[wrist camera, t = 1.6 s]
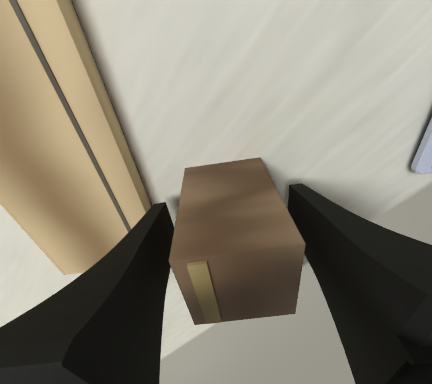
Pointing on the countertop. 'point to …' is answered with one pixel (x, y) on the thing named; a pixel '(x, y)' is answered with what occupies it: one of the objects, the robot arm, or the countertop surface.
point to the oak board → (61, 139)
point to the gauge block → (235, 244)
